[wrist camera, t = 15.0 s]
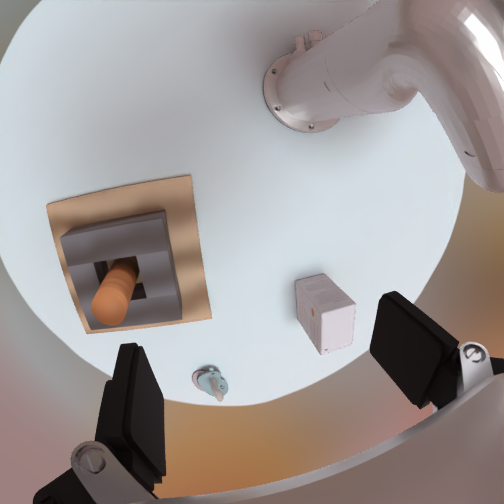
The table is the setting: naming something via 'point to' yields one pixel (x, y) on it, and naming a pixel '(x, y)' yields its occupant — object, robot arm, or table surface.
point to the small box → (325, 313)
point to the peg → (116, 291)
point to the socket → (134, 251)
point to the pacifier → (210, 383)
